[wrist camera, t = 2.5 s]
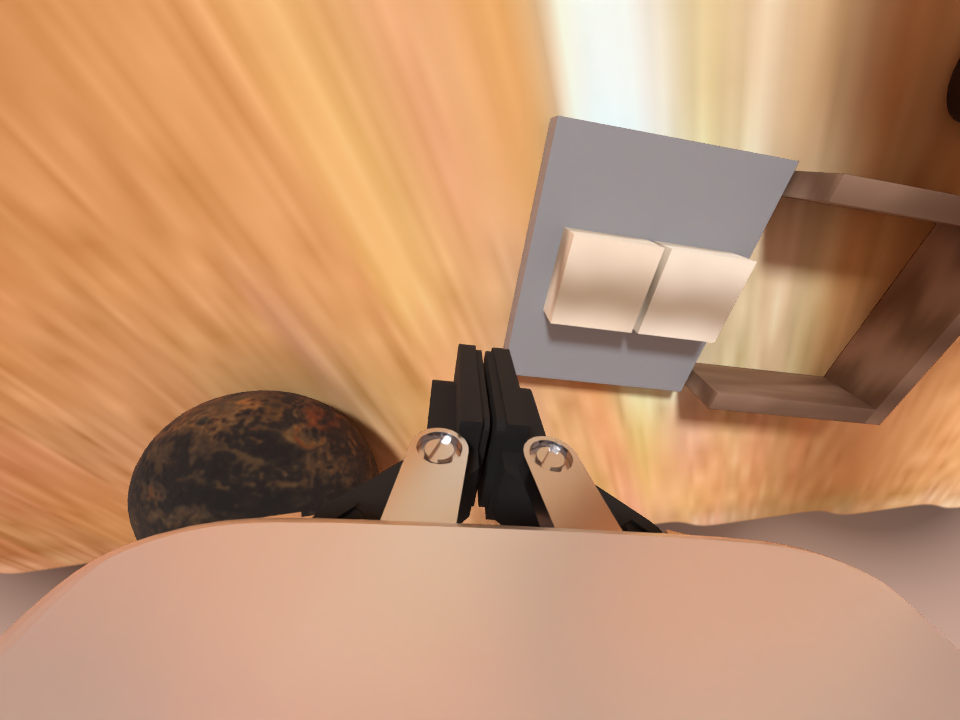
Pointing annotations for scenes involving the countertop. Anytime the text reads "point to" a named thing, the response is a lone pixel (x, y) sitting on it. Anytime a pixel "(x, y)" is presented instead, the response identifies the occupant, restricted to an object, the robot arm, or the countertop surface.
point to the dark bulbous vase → (246, 462)
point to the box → (885, 333)
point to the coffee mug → (954, 94)
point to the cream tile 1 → (600, 280)
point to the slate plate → (632, 213)
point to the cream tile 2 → (692, 292)
